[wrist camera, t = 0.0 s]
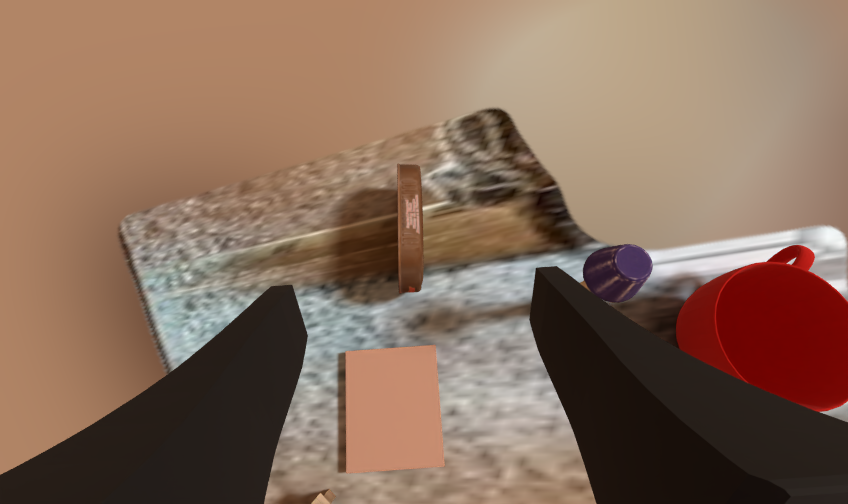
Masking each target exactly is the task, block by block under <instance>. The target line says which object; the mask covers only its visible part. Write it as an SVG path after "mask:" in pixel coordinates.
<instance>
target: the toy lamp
mask: <svg viewBox="0 0 848 504" xmlns="http://www.w3.org/2000/svg"><path fill="white" fill-rule="evenodd" d="M651 272H652V260H651V258H650V256H649V255H648V253H647V252H646V251H645V250H644V249H642V248H640V247H638V246H636V245H630V244H624V245H618V246H613V247H608V248H603V249H600V250H598V251H595V252H594V253H592V254H591V255H590V256H589V257H588V258H587V260H586V261H585V264H584V267H583V278H584V281H583V282H581V283H580V284H581V285H583V286H584V287H585V288H587V289H588V290H589V291H591V292H592V293H593V294H595V295H596V296H597V297H599V298H600V299H602V300H604V301H608V302H623V301H626V300H628V299H630V298H632V297H633V296H634V295H635V294H636V293H637V292H638V291H639V290H640V288H641V287H642V286H643V285H644V283H645V282H646V280H647V279H648V278H649V276H650V274H651Z"/></svg>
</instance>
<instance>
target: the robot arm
mask: <svg viewBox="0 0 848 504" xmlns="http://www.w3.org/2000/svg"><path fill="white" fill-rule="evenodd" d="M529 320H530V324H531V327H532V331H533V335H534V338H535V341H536V345H537V348H538V351H539V353H540V356H541V358H542V360H543V363H544V365H545V367H546V369H547V372H548V374H549V376H550V379H551V381H552V383H553V385H554V388H555V390H556V392H557V394H558V397H559V399H560V401H561V403H562V406H563V408H564V410H565V412H566V415H567V417H568V419H569V422H570V424H571V427H572V429H573V432H574V435H575V438H576V441H577V444H578V447H579V450H580V453H581V456H582V459H583V462H584V465H585V468H586V471H587V474H588V478H589V481H590V484H591V487H592V491H593V494H594V497H595V500H596V503H597V504H848V422H845V421H842V420H839V419H837V418H834V417H831V416H828V415H826V414H823V413H820V412H817V411H814V410H812V409H809V408H807V407H804V406H802V405H799V404H797V403H794V402H792V401H789V400H787V399H785V398H782V397H780V396H777V395H775V394H772V393H770V392H767V391H765V390H763V389H761V388H758V387H756V386H754V385H751V384H749V383H747V382H745V381H742V380H740V379H738V378H736V377H734V376H732V375H730V374H728V373H725V372H723V371H721V370H719V369H717V368H715V367H713V366H711V365H709V364H707V363H705V362H703V361H701V360H699V359H697V358H695V357H693V356H691V355H689V354H687V353H686V352H684V351H682V350H680V349H678V348H677V347H675V346H673V345H671V344H669V343H668V342H666V341H664V340H662V339H661V338H659V337H657V336H656V335H654V334H652V333H651V332H649V331H647V330H646V329H644V328H643V327H641V326H640V325H638V324H637V323H635V322H633V321H632V320H630V319H629V318H627V317H626V316H624V315H623V314H621V313H620V312H618V311H617V310H615V309H614V308H613V307H611V306H610V305H608V304H607V303H606V302H604V301H603V300H601V299H600V298H599V297H597V296H596V295H595V294H593V293H592V292H591V291H589V290H588V289H587V288H585V287H584V286H583V285H581V284H580V283H579V282H577V281H576V280H575V279H573V278H572V277H571V276H569V275H568V274H567V273H565V272H564V271H563V270H561V269H560V268H558V267H557V266H554V267H540V268H536V272H535V280H534V288H533V296H532V304H531V312H530V319H529ZM307 337H308V335H307V331H306V328H305V325H304V322H303V318H302V315H301V312H300V309H299V305H298V302H297V299H296V296H295V292H294V289H293V286H292V285H283V286H271V287H270V288H269V289H268V290H266V291H265V292H264V293H263V294H262V295H261V296H260V297H259V298H257V299H256V300H255V301H254V302H253V303H252V304H251V305H250V306H249V307H248V308H246V309H245V310H244V311H243V312H242V313H241V314H240V315H239V316H238V317H237V318H235V319H234V320H233V321H232V322H231V323H230V324H229V325H228V326H226V327H225V328H224V329H223V330H222V331H221V332H220V333H219V334H217V335H216V336H215V337H214V338H213V339H211V340H210V341H209V342H208V343H207V344H205V345H204V346H203V347H202V348H201V349H199V350H198V351H197V352H196V353H195V354H193V355H192V356H191V357H190V358H188V359H187V360H186V361H185V362H183V363H182V364H181V365H180V366H178V367H177V368H176V369H174V370H173V371H172V372H170V373H169V374H168V375H166V376H165V377H163V378H162V379H161V380H159V381H158V382H156V383H155V384H154V385H152V386H151V387H149V388H148V389H147V390H145V391H144V392H142V393H141V394H139V395H138V396H136V397H135V398H133V399H132V400H130V401H128V402H127V403H125V404H124V405H122V406H120V407H119V408H117V409H116V410H114V411H113V412H111V413H110V414H108V415H106V416H105V417H103V418H102V419H100V420H99V421H97V422H95V423H94V424H92V425H90V426H89V427H87V428H85V429H84V430H82V431H80V432H78V433H77V434H75V435H73V436H72V437H70V438H68V439H66V440H65V441H63V442H61V443H59V444H57V445H56V446H54V447H52V448H50V449H48V450H47V451H45V452H43V453H41V454H39V455H38V456H36V457H34V458H32V459H30V460H28V461H26V462H24V463H23V464H21V465H19V466H17V467H15V468H13V469H11V470H9V471H7V472H5V473H3V474H1V475H0V504H264V500H265V495H266V490H267V486H268V481H269V477H270V472H271V468H272V463H273V459H274V455H275V451H276V448H277V444H278V440H279V437H280V434H281V431H282V428H283V425H284V422H285V419H286V416H287V413H288V410H289V407H290V404H291V400H292V397H293V394H294V391H295V388H296V385H297V382H298V379H299V376H300V372H301V369H302V365H303V360H304V355H305V349H306V343H307Z"/></svg>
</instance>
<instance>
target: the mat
mask: <svg viewBox="0 0 848 504" xmlns="http://www.w3.org/2000/svg"><path fill="white" fill-rule="evenodd" d="M442 466H445V465H444V452H443V439H442V425H441V412H440V399H439V386H438V372H437V359H436V346H435V345H428V346H414V347H400V348H386V349H372V350H358V351H346V473H359V472H373V471H387V470H400V469H414V468H428V467H442Z"/></svg>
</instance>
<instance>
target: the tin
mask: <svg viewBox="0 0 848 504" xmlns="http://www.w3.org/2000/svg"><path fill="white" fill-rule="evenodd" d="M397 168H398V169H397V174H398V175H397V177H398V178H397V179H398V184H397V185H398V276H399V293H404V292H419V291H420V290H421V285H422V281H423V211H422V188H421V171H420V167H419V166H418V165H400V164H397Z"/></svg>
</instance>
